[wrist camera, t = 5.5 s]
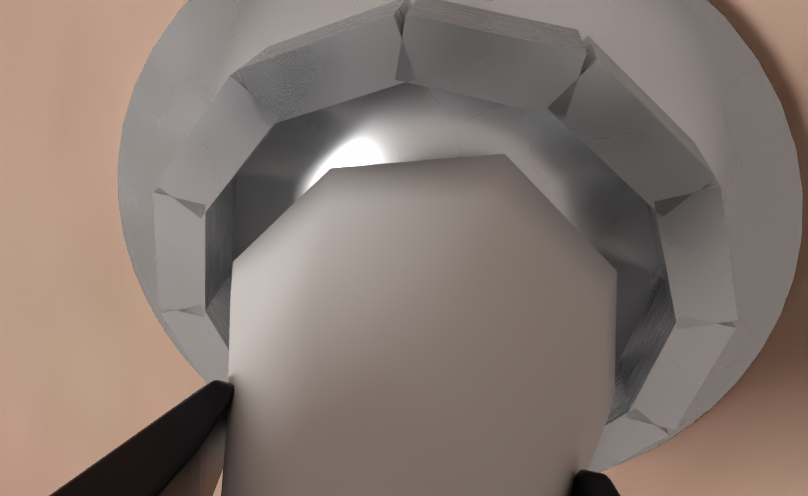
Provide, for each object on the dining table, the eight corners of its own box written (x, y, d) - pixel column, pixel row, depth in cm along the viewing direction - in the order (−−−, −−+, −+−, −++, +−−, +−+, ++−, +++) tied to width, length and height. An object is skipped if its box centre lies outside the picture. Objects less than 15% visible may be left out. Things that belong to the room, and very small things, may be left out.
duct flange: (634, 528, 17) (646, 597, 16) (143, 408, 18) (106, 462, 16) (969, -3, 10) (1060, 25, 8) (100, -187, 10) (23, -195, 9)
